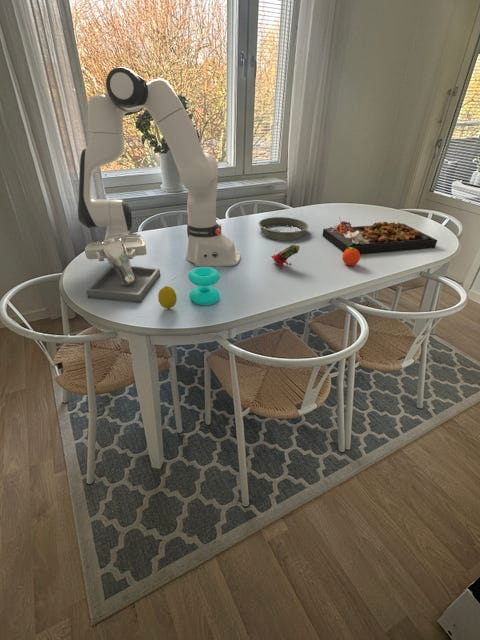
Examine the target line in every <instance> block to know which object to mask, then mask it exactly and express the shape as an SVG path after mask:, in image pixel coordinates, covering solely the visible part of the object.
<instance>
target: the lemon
mask: <svg viewBox="0 0 480 640" xmlns="http://www.w3.org/2000/svg"><path fill="white" fill-rule="evenodd" d="M157 298H158V304H159V305H160V306H161V307H162V308H164V309H167V310H170V309H171V308H173V307H174V306H175V305H176V303H177V293H176V291H175V289H174V288H173V287H171V286H168V285H166V286H163V287H161V288H160V289H159V292H158V297H157Z"/></svg>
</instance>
